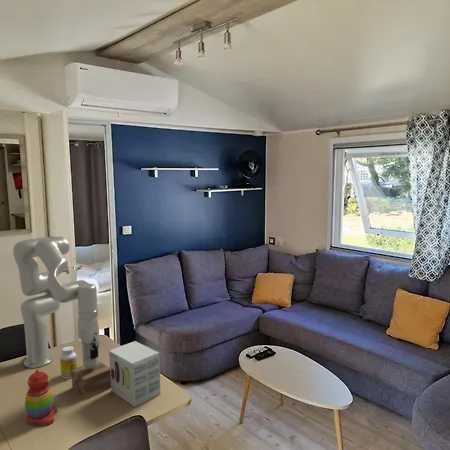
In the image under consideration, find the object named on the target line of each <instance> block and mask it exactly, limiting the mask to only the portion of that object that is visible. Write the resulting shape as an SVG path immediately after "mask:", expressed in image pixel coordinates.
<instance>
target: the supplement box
mask: <svg viewBox="0 0 450 450" xmlns="http://www.w3.org/2000/svg"><path fill="white" fill-rule="evenodd" d="M108 353H109V354H108V355H109V368H110V377H111V388H110V391H111V392H112V393H114V394H115V395H117V396H118V397H120V398H121V399H122V400H124V401H125V402H127V403H128V404H130V405H131V406H133V408H135V407H137V406H139V405H141V404H143V403H145V402H147V401H149V400H152V399H154V398H156V397H157V396H160V395H161V393H162V392H161V369H160V368H161V367H160V366H161V365H160V352H159V351H157V350H155V349H153V348H152V347H150V346H147V345H145V344H142V343H140V342H138V341H136V340H134V341H132V342H131V341H130V342H129V343H126V344H122V345H120V346H117V347H115V348H113V349H110V350H108Z"/></svg>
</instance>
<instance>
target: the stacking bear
mask: <svg viewBox="0 0 450 450" xmlns="http://www.w3.org/2000/svg"><path fill="white" fill-rule="evenodd" d="M50 382H51V378H50V376H49V375H48V374H46V373H45V372H44V371H39V369H37V370H35V372H33V373H32V374H31V375H30V376H28V379H27V385H28V387H29V388H28V390H27V392H26V395H25V400H24V406H25V407H24V408H25V411H26V413H27V418H26V422H27V424H29V425H31V426H35V427H36V426H37V427H38V426H39V427H43V426H49V425H51V424H53V423H54V421H55V417H54V415H55V414H56V413H57V412H58V411H59V409H58V406H56V405H53V404H54V397H53V396H54V395H53V393H52V389H51V388H50V385H49V384H50Z"/></svg>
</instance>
